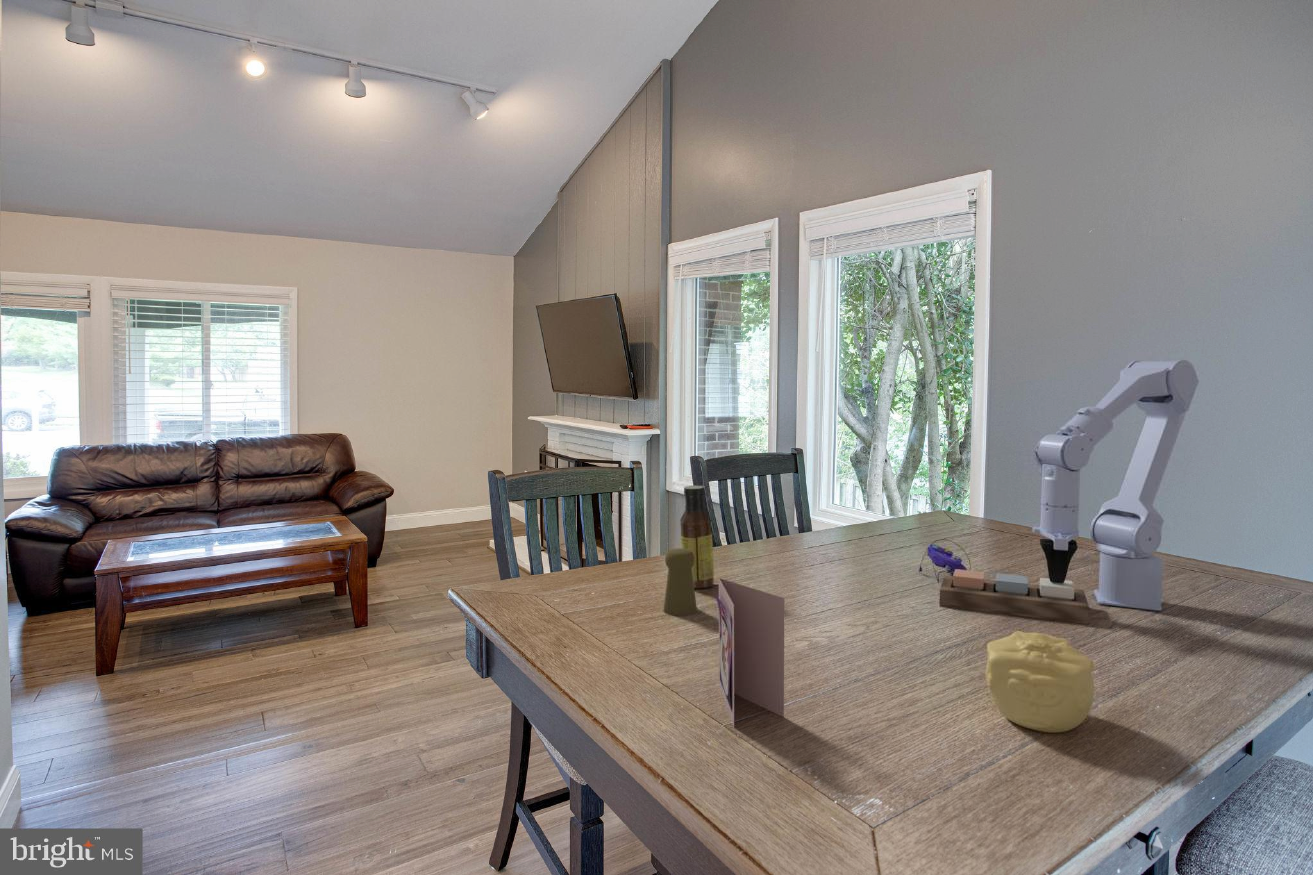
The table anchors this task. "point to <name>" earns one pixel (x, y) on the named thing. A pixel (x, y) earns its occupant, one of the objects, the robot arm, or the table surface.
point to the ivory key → (1056, 590)
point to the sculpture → (1040, 681)
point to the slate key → (1011, 584)
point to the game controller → (944, 559)
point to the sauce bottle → (698, 536)
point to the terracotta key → (968, 579)
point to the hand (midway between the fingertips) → (1056, 581)
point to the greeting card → (751, 646)
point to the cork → (680, 583)
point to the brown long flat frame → (1015, 602)
